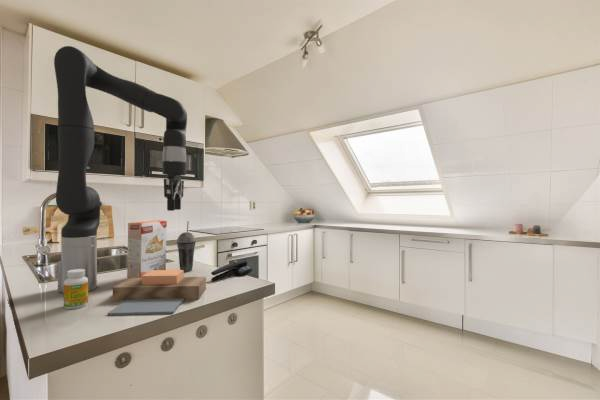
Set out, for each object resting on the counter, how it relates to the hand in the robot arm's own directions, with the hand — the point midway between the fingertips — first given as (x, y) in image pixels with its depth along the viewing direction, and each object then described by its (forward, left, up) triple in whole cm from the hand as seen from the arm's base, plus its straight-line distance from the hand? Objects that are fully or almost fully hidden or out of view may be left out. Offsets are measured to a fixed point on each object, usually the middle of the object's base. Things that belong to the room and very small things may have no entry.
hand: (174, 209), depth 103 cm
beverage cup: (-1, +19, -26) cm, 32 cm away
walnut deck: (0, -11, -26) cm, 28 cm away
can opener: (+18, +10, -26) cm, 33 cm away
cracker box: (-12, +9, -26) cm, 30 cm away
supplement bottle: (-20, -19, -26) cm, 38 cm away
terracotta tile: (0, -10, -20) cm, 23 cm away
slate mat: (0, -21, -26) cm, 33 cm away
